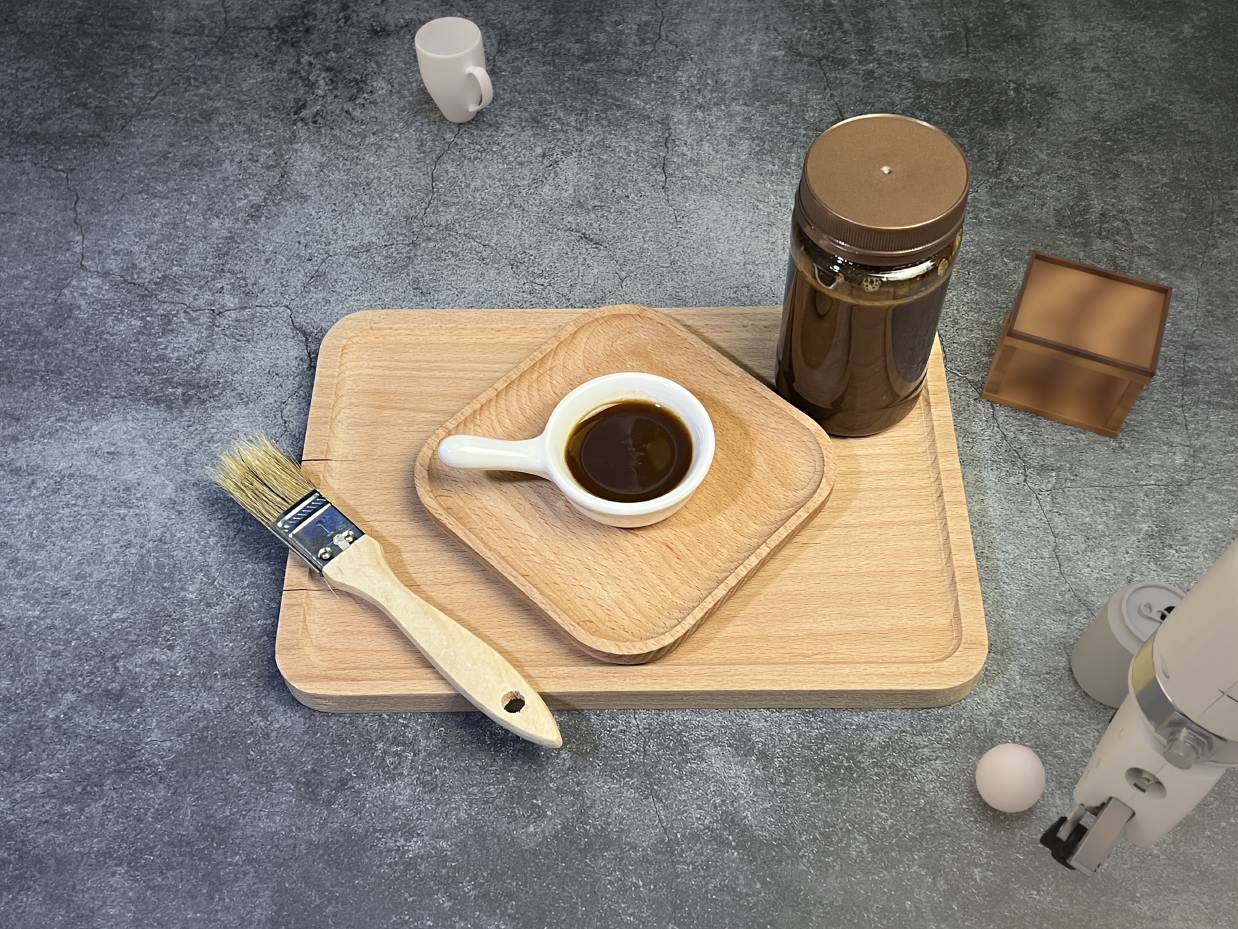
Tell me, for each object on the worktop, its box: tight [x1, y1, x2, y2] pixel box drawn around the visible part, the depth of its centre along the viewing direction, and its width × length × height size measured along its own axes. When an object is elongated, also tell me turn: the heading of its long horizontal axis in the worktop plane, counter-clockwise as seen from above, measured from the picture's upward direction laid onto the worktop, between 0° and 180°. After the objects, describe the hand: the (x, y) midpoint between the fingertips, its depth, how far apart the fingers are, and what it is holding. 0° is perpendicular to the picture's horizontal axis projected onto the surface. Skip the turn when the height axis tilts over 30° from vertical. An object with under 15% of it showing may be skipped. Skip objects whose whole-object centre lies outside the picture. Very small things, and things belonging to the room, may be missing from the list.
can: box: [1070, 580, 1187, 709], centre depth 94 cm, size 8×8×12 cm
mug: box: [414, 16, 494, 124], centre depth 139 cm, size 12×8×11 cm
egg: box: [975, 742, 1047, 814], centre depth 90 cm, size 5×5×7 cm
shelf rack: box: [980, 249, 1174, 440], centre depth 114 cm, size 14×12×11 cm
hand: (1098, 793), depth 70 cm, fingers open, 9 cm apart
